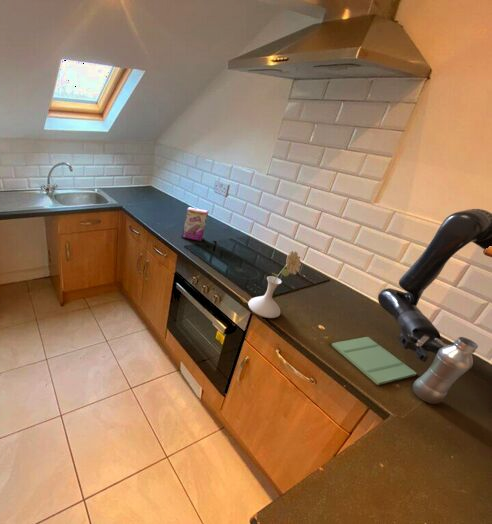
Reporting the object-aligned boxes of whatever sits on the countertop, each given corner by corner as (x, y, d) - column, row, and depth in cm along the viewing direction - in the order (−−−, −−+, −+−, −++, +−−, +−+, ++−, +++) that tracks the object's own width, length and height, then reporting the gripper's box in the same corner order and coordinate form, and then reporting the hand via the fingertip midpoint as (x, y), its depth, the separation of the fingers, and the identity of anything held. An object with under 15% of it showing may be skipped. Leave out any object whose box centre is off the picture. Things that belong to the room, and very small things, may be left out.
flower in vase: (257, 322, 105) (279, 259, 93) (241, 302, 114) (260, 243, 103) (289, 320, 107) (315, 259, 96) (271, 301, 117) (293, 243, 105)
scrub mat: (366, 338, 103) (367, 336, 102) (415, 375, 89) (417, 373, 89) (331, 345, 98) (332, 342, 97) (377, 385, 85) (379, 382, 84)
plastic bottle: (415, 402, 81) (460, 347, 71) (405, 383, 86) (445, 329, 77) (444, 410, 79) (493, 355, 70) (431, 390, 85) (475, 337, 75)
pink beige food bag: (181, 237, 165) (186, 209, 157) (183, 234, 169) (188, 206, 162) (201, 241, 163) (208, 213, 155) (202, 238, 167) (208, 210, 159)
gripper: (396, 311, 92) (420, 345, 79) (452, 325, 89) (486, 363, 75) (385, 330, 96) (405, 366, 82) (437, 344, 92) (468, 384, 78)
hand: (444, 364), depth 79 cm, fingers open, 8 cm apart
